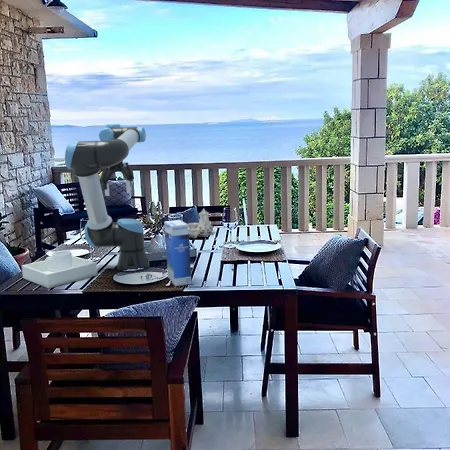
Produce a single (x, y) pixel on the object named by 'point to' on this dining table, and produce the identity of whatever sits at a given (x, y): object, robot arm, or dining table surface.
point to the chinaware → (201, 225)
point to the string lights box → (178, 252)
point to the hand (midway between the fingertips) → (118, 194)
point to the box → (59, 272)
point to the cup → (60, 261)
